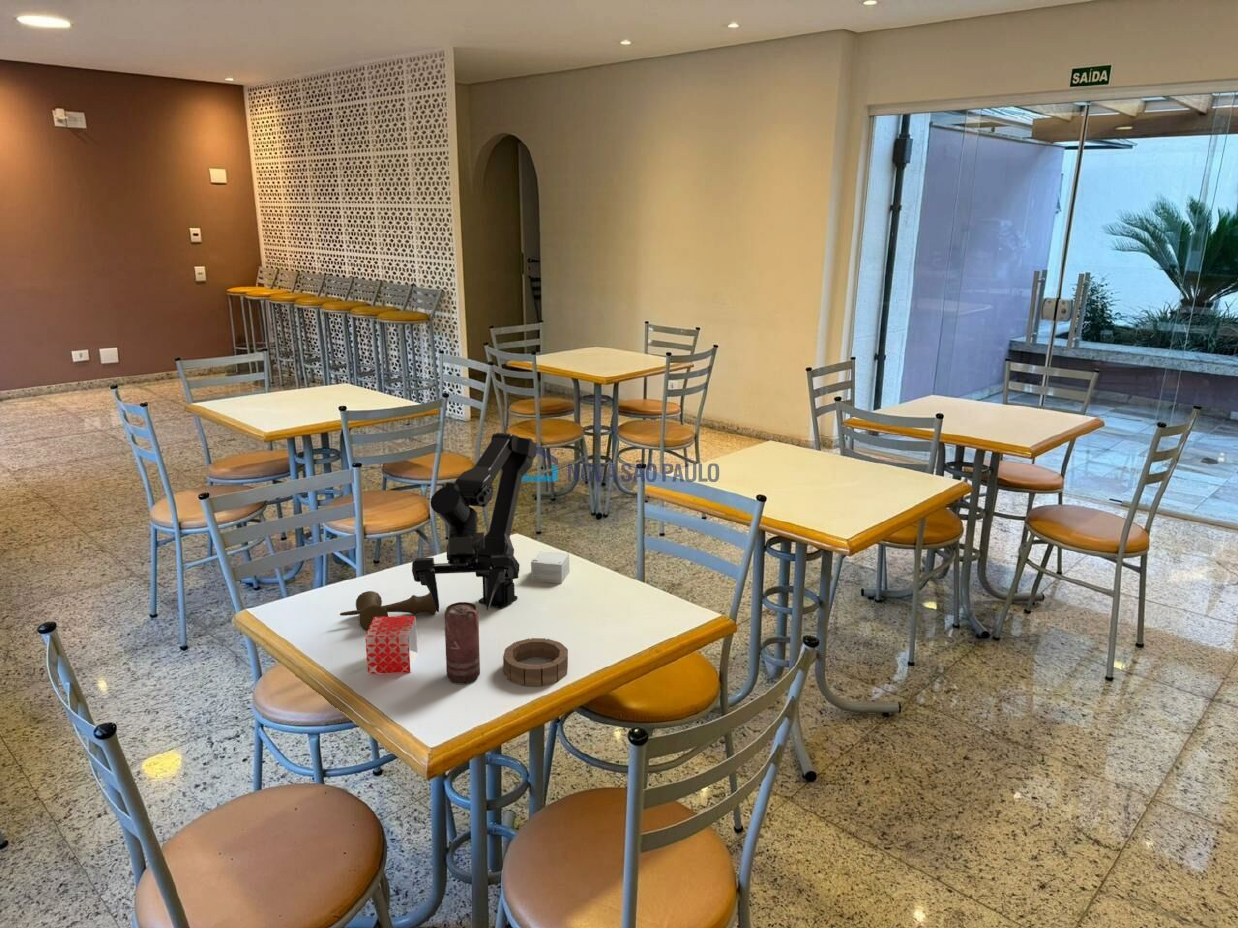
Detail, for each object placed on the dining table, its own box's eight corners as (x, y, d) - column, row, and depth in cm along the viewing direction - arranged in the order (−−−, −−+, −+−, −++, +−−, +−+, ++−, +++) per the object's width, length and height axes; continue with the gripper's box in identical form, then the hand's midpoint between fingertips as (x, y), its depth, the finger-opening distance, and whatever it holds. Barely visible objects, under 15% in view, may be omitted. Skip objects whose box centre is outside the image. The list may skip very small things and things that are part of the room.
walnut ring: (491, 675, 153) (490, 658, 152) (528, 648, 163) (528, 632, 162) (544, 692, 148) (544, 675, 147) (579, 664, 158) (579, 647, 157)
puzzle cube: (376, 653, 161) (374, 616, 158) (417, 652, 161) (415, 616, 159) (367, 674, 153) (365, 635, 151) (410, 673, 153) (408, 635, 151)
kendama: (440, 624, 175) (342, 637, 167) (431, 607, 183) (338, 618, 175) (440, 597, 173) (341, 609, 165) (431, 581, 182) (337, 592, 174)
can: (474, 686, 149) (472, 616, 145) (441, 682, 150) (438, 613, 147) (486, 670, 155) (484, 602, 151) (454, 666, 156) (452, 599, 152)
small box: (570, 572, 202) (570, 552, 201) (561, 584, 195) (561, 564, 193) (539, 569, 204) (539, 550, 202) (530, 581, 196) (530, 561, 195)
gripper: (410, 518, 153) (407, 596, 145) (510, 515, 156) (512, 592, 148) (416, 543, 163) (413, 618, 155) (510, 540, 165) (512, 613, 158)
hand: (462, 610), depth 154 cm, fingers open, 9 cm apart
